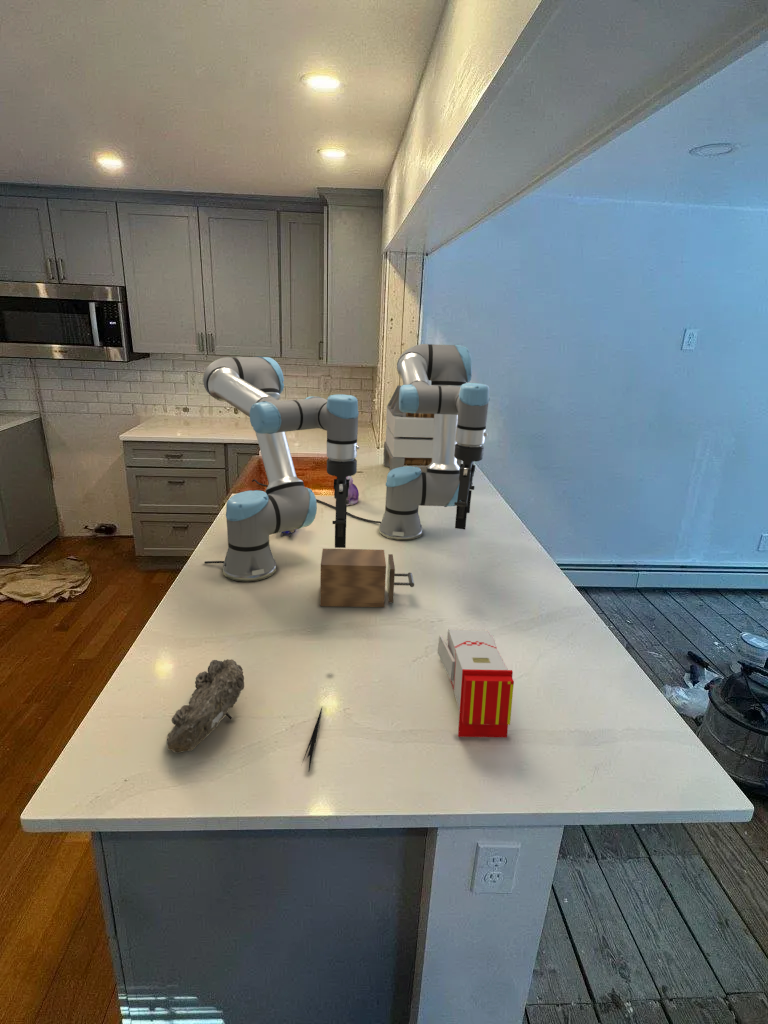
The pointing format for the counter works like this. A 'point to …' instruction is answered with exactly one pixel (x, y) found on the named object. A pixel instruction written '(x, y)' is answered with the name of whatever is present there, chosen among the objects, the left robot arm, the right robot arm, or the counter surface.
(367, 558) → the cabinet
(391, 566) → the drawer
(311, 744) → the feather
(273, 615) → the counter surface
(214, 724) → the fossil
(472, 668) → the toy
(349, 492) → the figurine
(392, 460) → the grey box
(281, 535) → the figurine character
